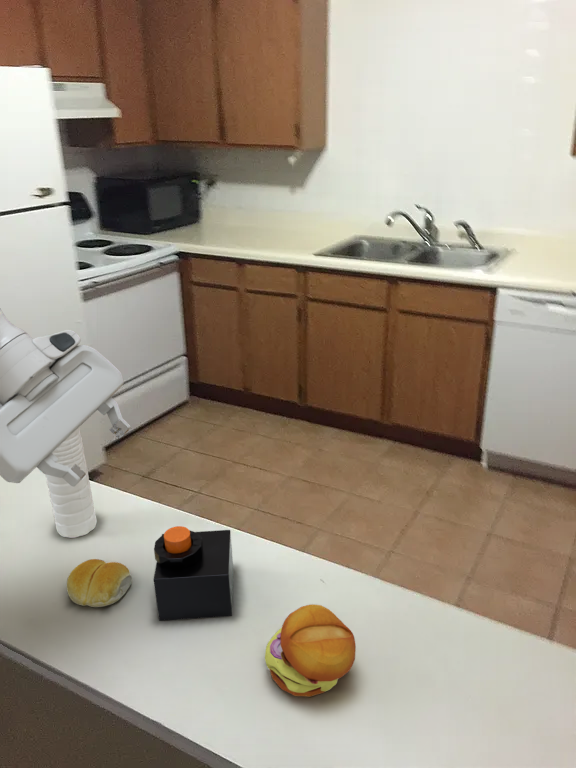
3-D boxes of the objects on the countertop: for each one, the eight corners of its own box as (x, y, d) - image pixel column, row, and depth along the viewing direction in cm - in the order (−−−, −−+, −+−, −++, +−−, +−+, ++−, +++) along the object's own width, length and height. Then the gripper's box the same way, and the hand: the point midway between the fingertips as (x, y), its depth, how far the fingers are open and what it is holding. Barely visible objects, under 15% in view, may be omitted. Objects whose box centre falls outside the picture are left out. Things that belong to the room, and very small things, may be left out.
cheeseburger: (297, 624, 90) (310, 573, 85) (361, 676, 85) (380, 625, 80) (246, 670, 83) (258, 618, 78) (313, 730, 78) (330, 679, 73)
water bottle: (58, 542, 108) (29, 403, 98) (55, 521, 114) (27, 387, 104) (113, 529, 111) (90, 392, 101) (107, 508, 117) (85, 377, 107)
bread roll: (87, 567, 103) (83, 545, 101) (139, 577, 100) (136, 555, 98) (55, 603, 95) (50, 581, 94) (110, 615, 93) (106, 592, 91)
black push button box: (157, 621, 92) (149, 568, 88) (165, 573, 101) (158, 523, 97) (232, 616, 92) (227, 563, 88) (233, 568, 101) (229, 519, 97)
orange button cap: (163, 555, 91) (162, 542, 90) (166, 538, 94) (165, 526, 93) (190, 553, 91) (188, 541, 90) (192, 537, 94) (191, 525, 94)
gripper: (-40, 414, 70) (59, 503, 72) (80, 323, 85) (159, 398, 87) (-57, 439, 74) (37, 523, 76) (61, 348, 89) (137, 420, 91)
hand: (103, 456), depth 82 cm, fingers open, 8 cm apart
